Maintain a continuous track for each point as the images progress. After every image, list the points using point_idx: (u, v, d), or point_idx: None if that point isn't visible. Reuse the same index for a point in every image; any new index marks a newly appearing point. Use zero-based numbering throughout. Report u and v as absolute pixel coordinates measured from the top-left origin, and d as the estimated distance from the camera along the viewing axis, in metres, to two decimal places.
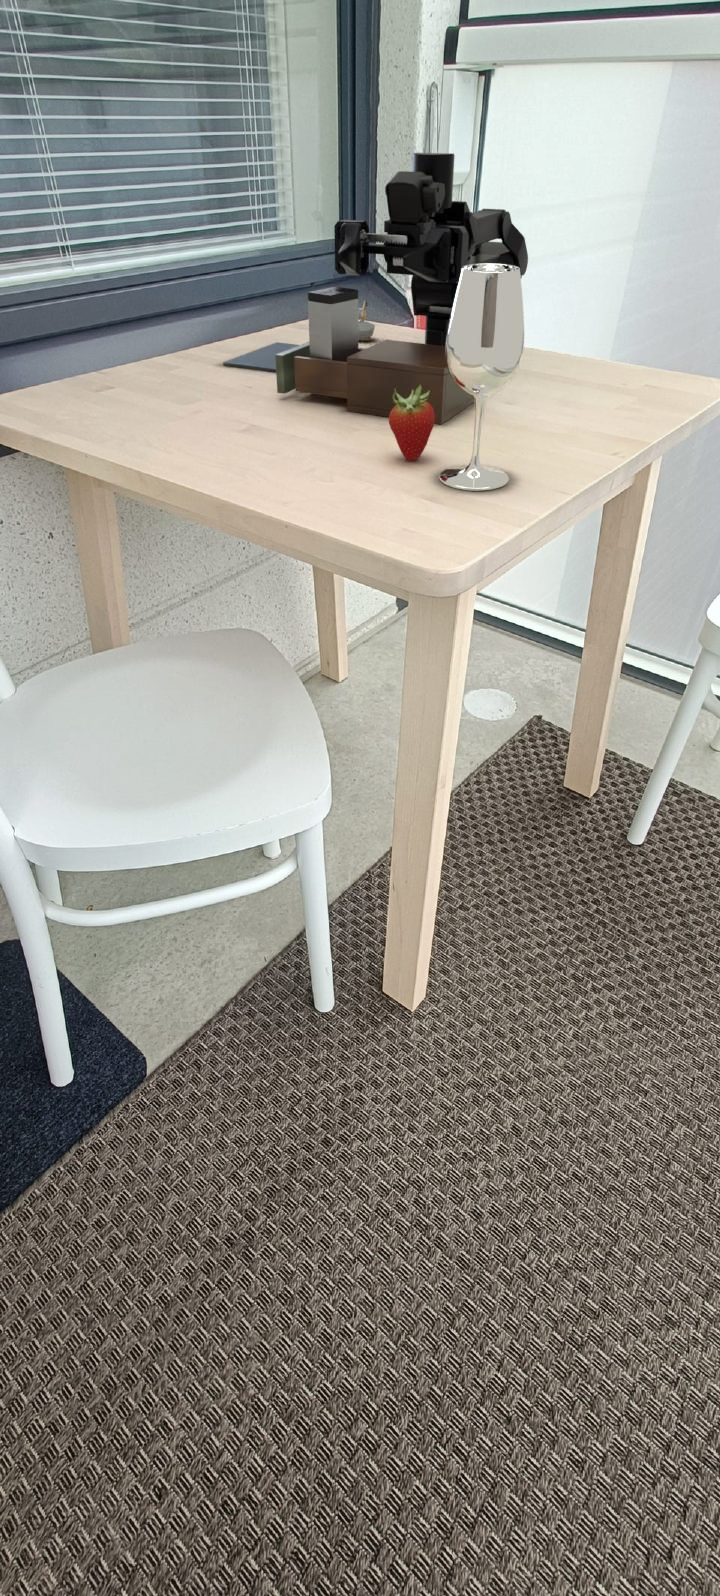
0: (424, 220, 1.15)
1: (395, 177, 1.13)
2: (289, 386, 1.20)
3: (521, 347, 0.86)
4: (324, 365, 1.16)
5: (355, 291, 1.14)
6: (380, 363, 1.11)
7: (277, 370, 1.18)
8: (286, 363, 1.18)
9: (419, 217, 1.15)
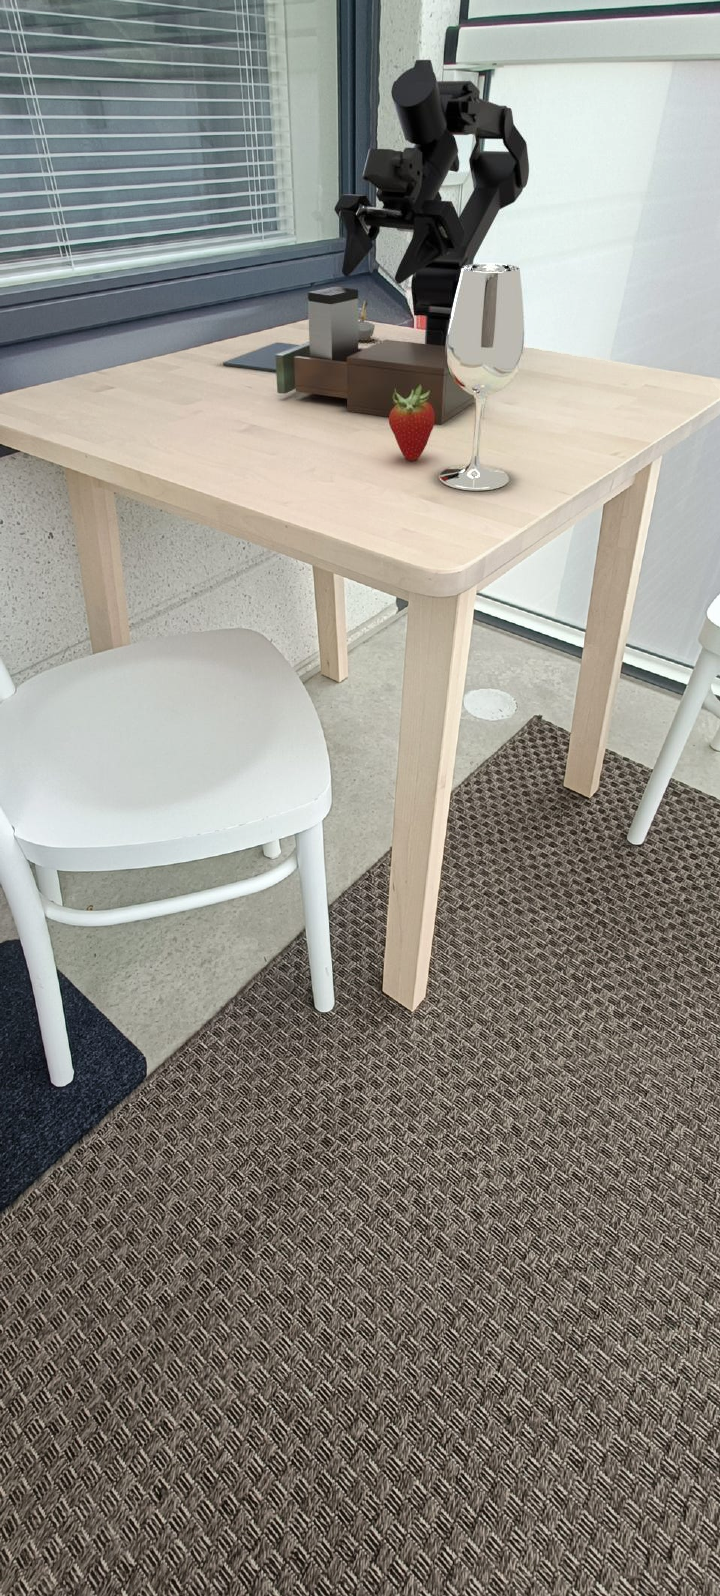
0: (410, 187, 1.13)
1: (368, 163, 1.11)
2: (289, 386, 1.20)
3: (521, 347, 0.86)
4: (324, 365, 1.16)
5: (355, 291, 1.14)
6: (380, 363, 1.11)
7: (277, 370, 1.18)
8: (286, 363, 1.18)
9: (404, 189, 1.13)
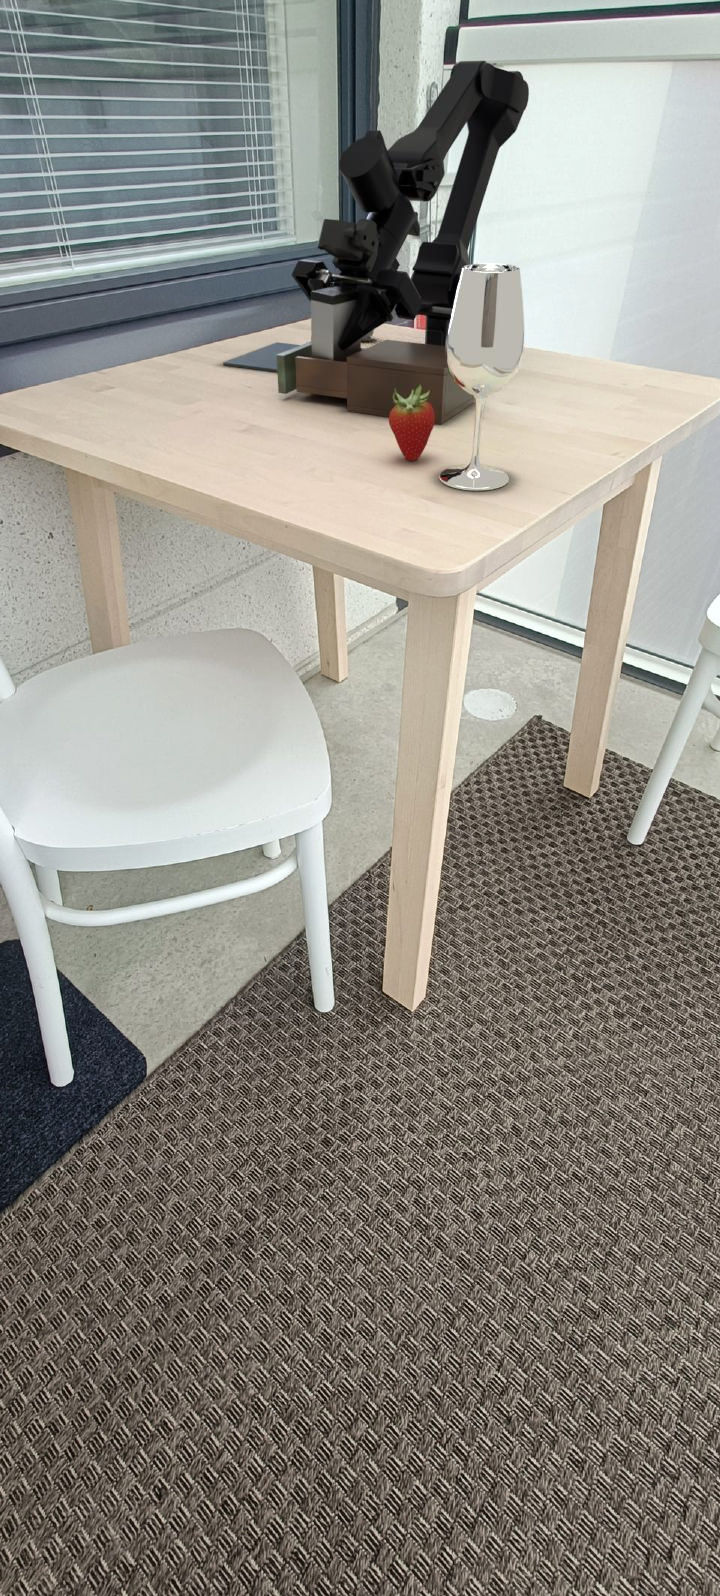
0: (366, 256, 1.12)
1: (322, 233, 1.10)
2: (290, 386, 1.20)
3: (521, 347, 0.86)
4: (325, 365, 1.15)
5: None
6: (380, 363, 1.11)
7: (278, 370, 1.18)
8: (287, 363, 1.18)
9: (360, 258, 1.12)
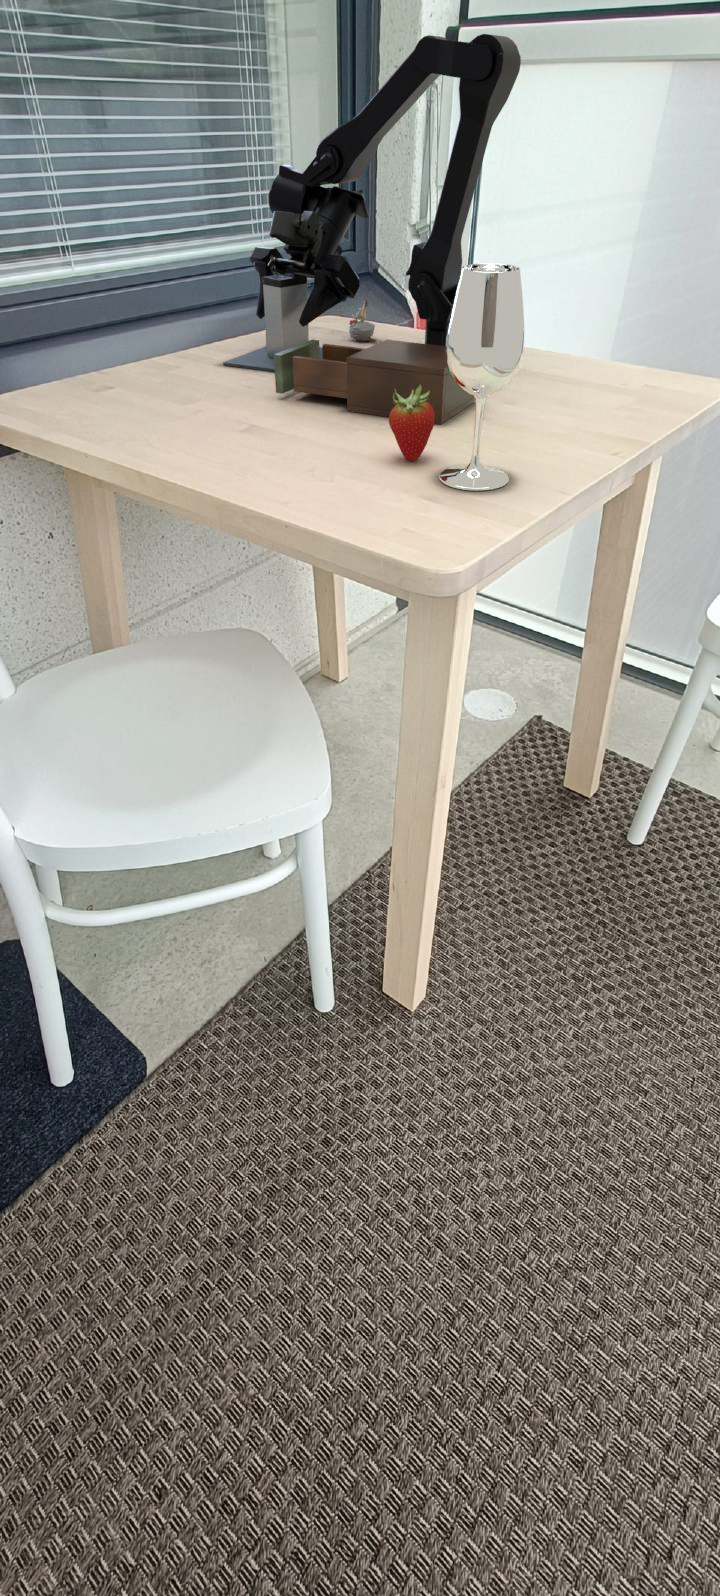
0: (311, 243, 1.30)
1: (273, 223, 1.28)
2: (288, 386, 1.20)
3: (521, 347, 0.86)
4: (322, 365, 1.16)
5: (304, 277, 1.33)
6: (380, 363, 1.11)
7: (276, 370, 1.18)
8: (285, 362, 1.18)
9: (306, 245, 1.30)
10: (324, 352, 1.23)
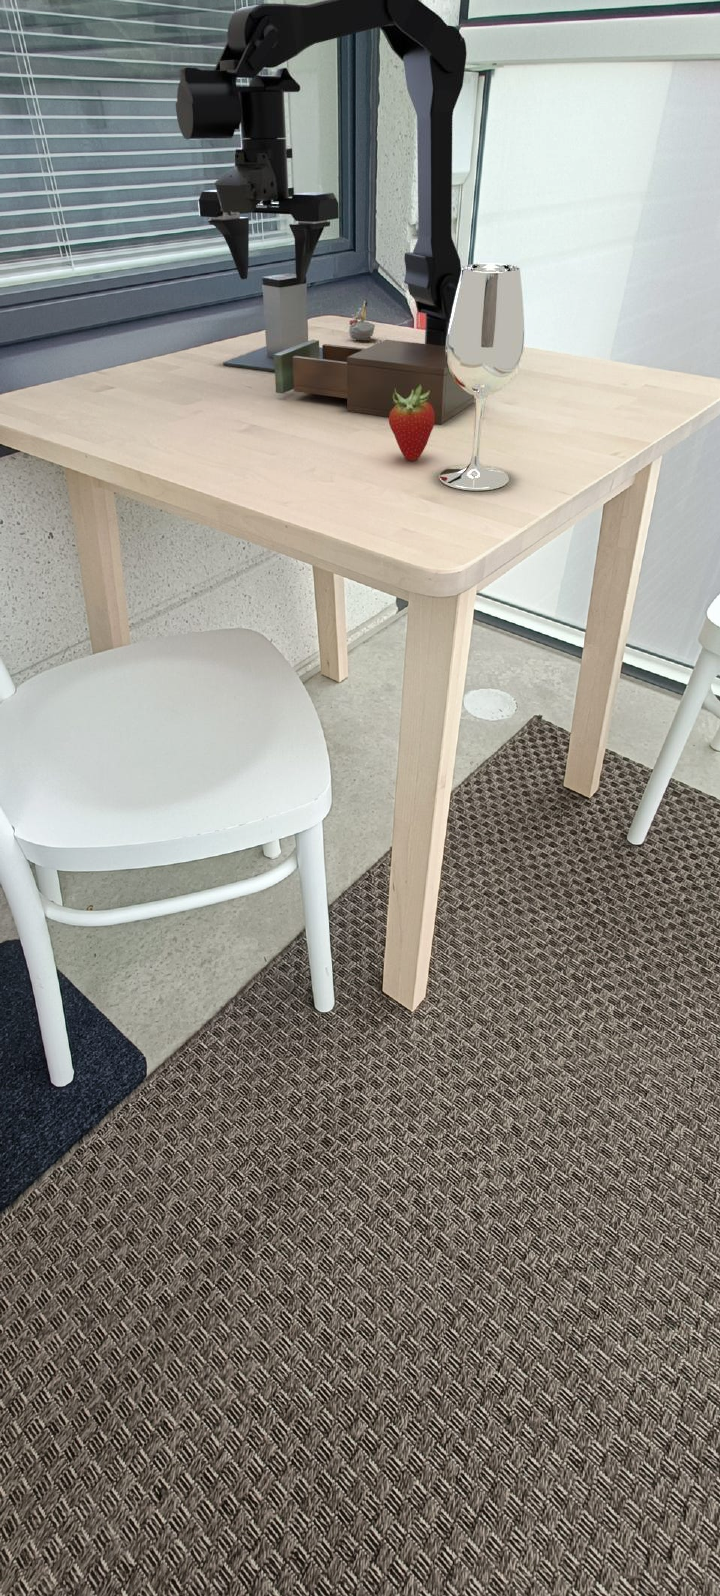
0: None
1: (222, 200, 1.09)
2: (288, 386, 1.20)
3: (521, 347, 0.86)
4: (322, 365, 1.16)
5: None
6: (380, 363, 1.11)
7: (276, 370, 1.18)
8: (285, 362, 1.18)
9: None
10: (324, 352, 1.23)
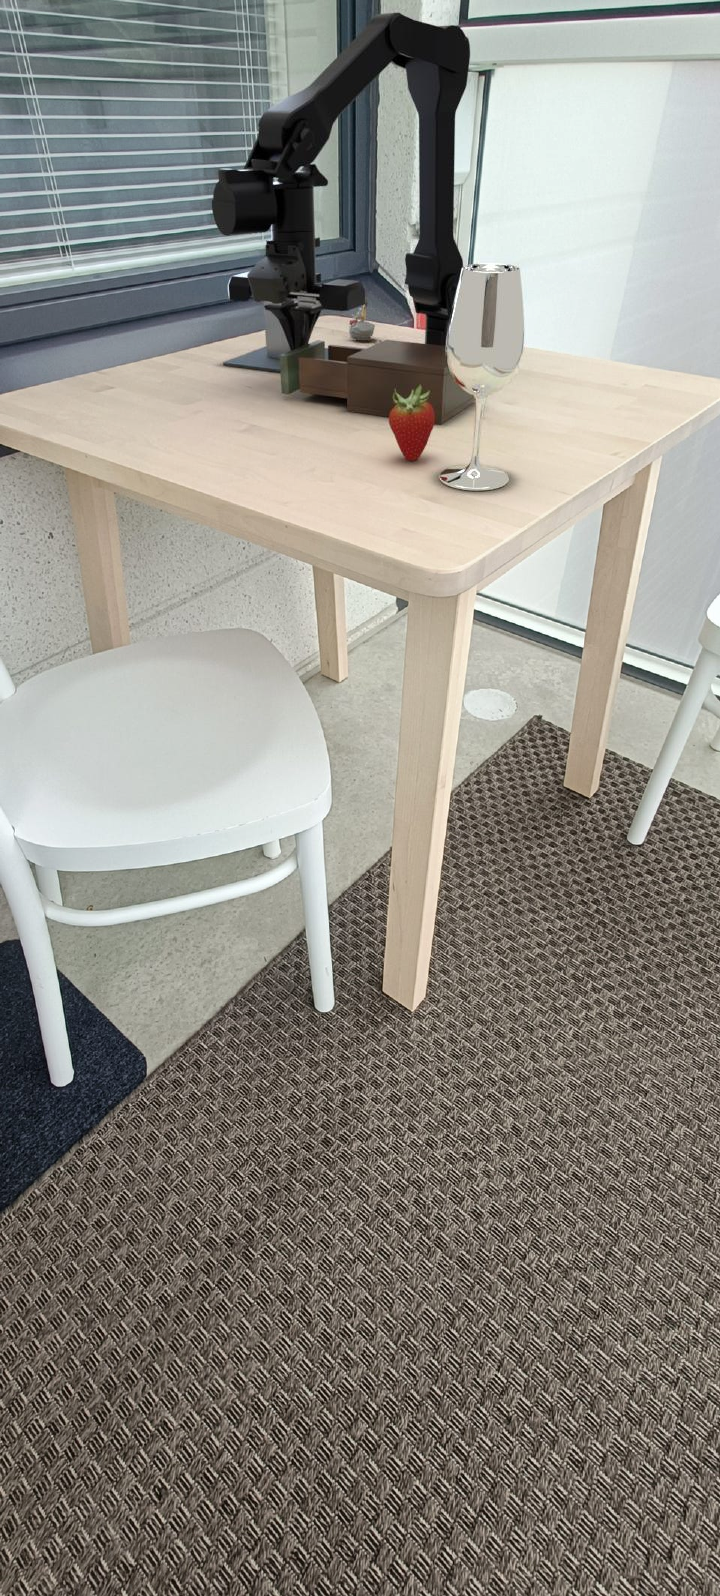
0: None
1: (254, 291, 1.13)
2: (293, 387, 1.20)
3: (521, 347, 0.86)
4: (329, 366, 1.15)
5: None
6: (380, 363, 1.11)
7: (281, 371, 1.18)
8: (290, 363, 1.18)
9: None
10: (330, 353, 1.23)
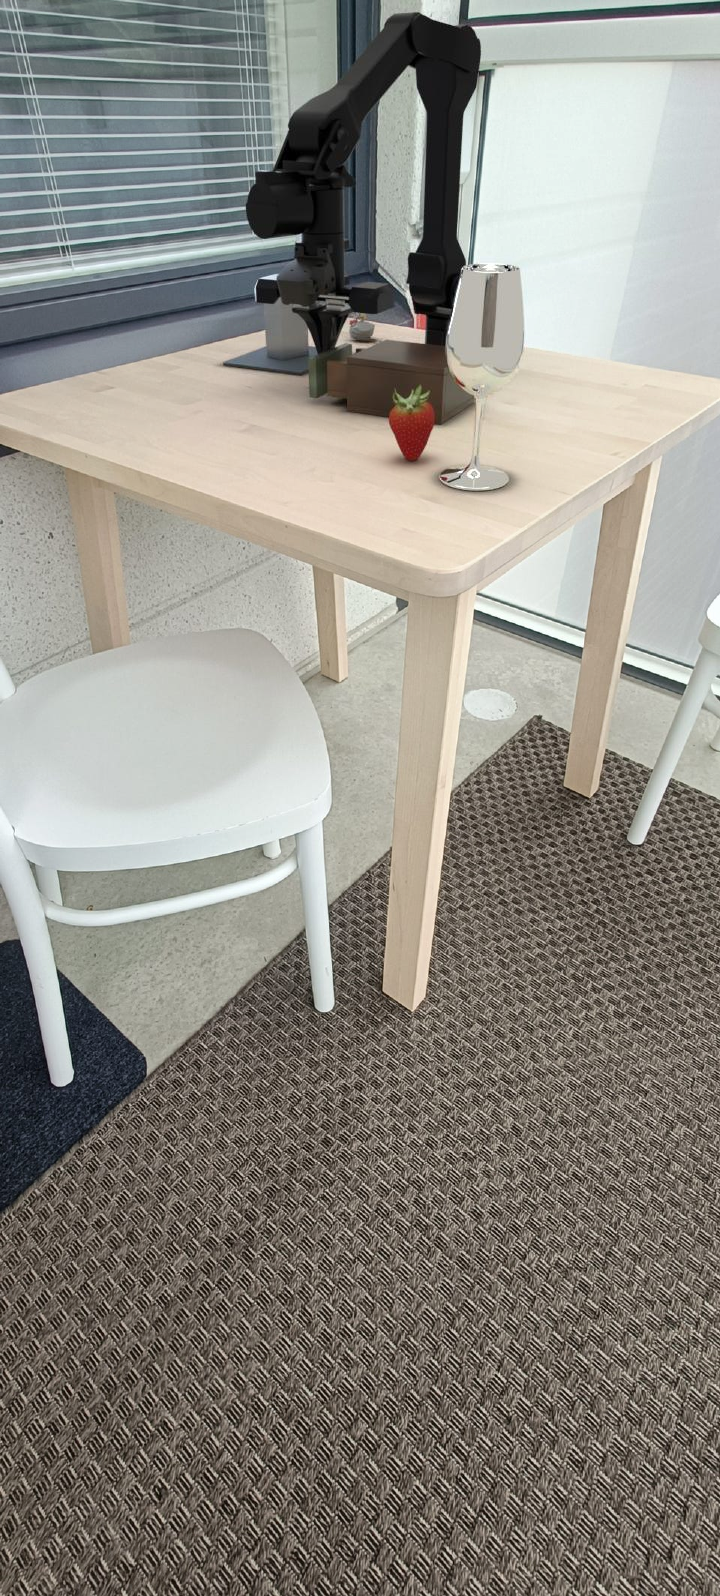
0: None
1: (283, 294, 1.11)
2: (321, 391, 1.18)
3: (521, 347, 0.86)
4: None
5: None
6: (380, 363, 1.11)
7: (309, 374, 1.16)
8: (319, 367, 1.16)
9: None
10: None
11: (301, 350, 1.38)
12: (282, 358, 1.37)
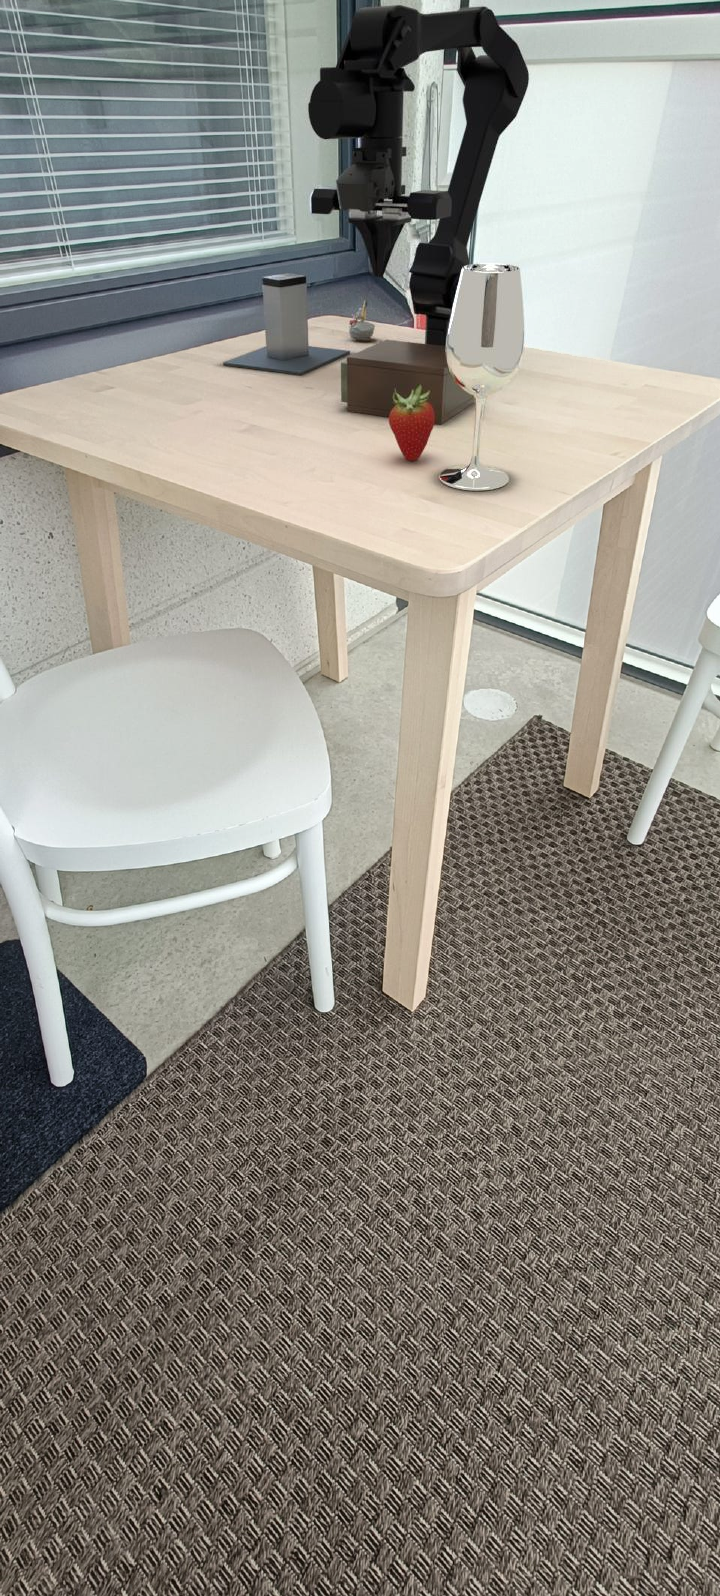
0: None
1: (342, 198, 1.11)
2: None
3: (521, 347, 0.86)
4: None
5: (303, 277, 1.33)
6: (380, 363, 1.11)
7: (342, 378, 1.15)
8: None
9: None
10: None
11: (301, 350, 1.38)
12: (282, 358, 1.37)
